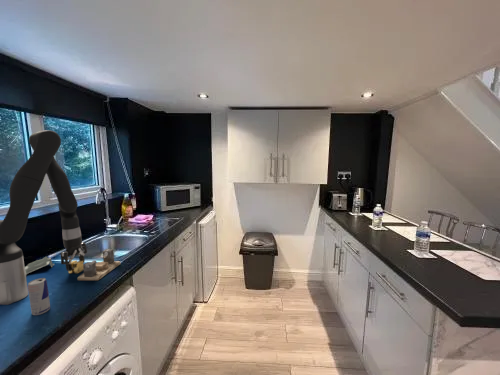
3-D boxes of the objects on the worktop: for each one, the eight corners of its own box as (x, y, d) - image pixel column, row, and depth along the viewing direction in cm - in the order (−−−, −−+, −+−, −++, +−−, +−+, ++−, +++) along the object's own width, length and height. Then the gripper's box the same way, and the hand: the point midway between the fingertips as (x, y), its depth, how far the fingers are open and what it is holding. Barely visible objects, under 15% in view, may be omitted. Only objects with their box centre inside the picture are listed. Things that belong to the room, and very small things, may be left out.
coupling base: (98, 280, 113) (96, 263, 112) (77, 280, 113) (75, 263, 112) (120, 263, 131) (119, 248, 130) (102, 263, 131) (101, 248, 130)
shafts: (89, 268, 113) (88, 261, 113) (85, 268, 113) (84, 261, 113) (112, 254, 130) (111, 247, 130) (108, 254, 130) (108, 247, 130)
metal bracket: (51, 252, 135) (48, 261, 123) (56, 261, 136) (54, 270, 124) (18, 266, 127) (12, 277, 115) (24, 275, 129) (19, 286, 117)
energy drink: (54, 306, 93) (50, 277, 92) (42, 315, 88) (38, 284, 86) (39, 307, 93) (35, 278, 92) (27, 316, 88) (23, 285, 86)
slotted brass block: (83, 269, 125) (82, 260, 124) (78, 273, 121) (76, 263, 120) (74, 269, 125) (73, 260, 124) (68, 273, 121) (67, 263, 120)
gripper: (75, 232, 128) (79, 260, 130) (53, 241, 114) (57, 273, 116) (89, 231, 128) (92, 260, 130) (68, 241, 114) (72, 273, 116)
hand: (76, 266), depth 123 cm, fingers open, 8 cm apart
